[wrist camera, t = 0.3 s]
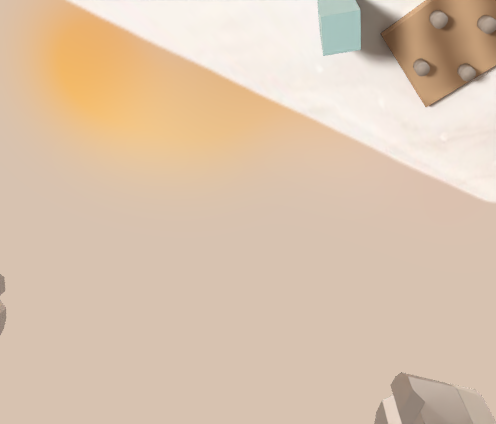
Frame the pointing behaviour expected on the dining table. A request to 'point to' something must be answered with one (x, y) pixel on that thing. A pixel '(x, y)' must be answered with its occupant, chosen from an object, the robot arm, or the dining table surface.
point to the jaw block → (339, 26)
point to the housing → (444, 44)
